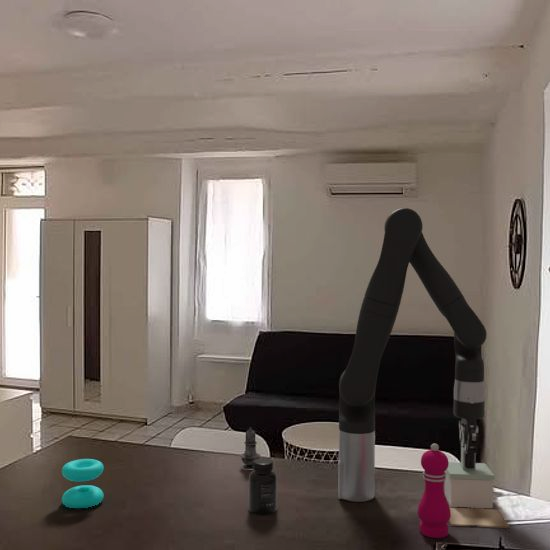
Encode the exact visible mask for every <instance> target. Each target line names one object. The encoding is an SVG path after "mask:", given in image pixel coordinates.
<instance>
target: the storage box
mask: <svg viewBox="0 0 550 550" xmlns="http://www.w3.org/2000/svg"><path fill="white" fill-rule="evenodd" d="M445 473H446V480H445V481H444V494H445V497H446V500H447V502H448V504H449V507H450V508H457V507H468V508H467V509H484V508H493V506H494V505H493V504H494V502H493V501H494V499H493V497H494V492H493V491H494V484H493V483H494V480H471V479H450V478H449V476H448V474H447V472H446V471H445ZM469 507H471V508H469ZM474 507H475V508H474ZM493 509H494V508H493Z"/></svg>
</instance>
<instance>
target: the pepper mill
mask: <svg viewBox="0 0 550 550" xmlns="http://www.w3.org/2000/svg"><path fill="white" fill-rule="evenodd" d="M439 449H440V446H439V444H437V443H432V444H431V445H430V449H428V450H426V451H424V452H423V454H422V455H421V458H420V465H421V467H422V469H423V471H422V474H423V475H422V478H423V479H424V491H423V494H422V497H421V499H420V501H419V503H418V506H417V516H418V518H419V520H420V522H419V533H421V535H423V536H426V537H428V538H431V539H432V538H434V539H442V538H445V537H447V536H449V524H447V523H448V522H449V520H450V518H451V512H450V508H451V506H450V504H449V502H448V500H447V498H446V496H445V480H446V473H445V471H446V470H447V468H448V462H449V458H448V456H447V455H446V454H445V452H443V451H441V450H439Z"/></svg>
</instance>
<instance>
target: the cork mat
mask: <svg viewBox="0 0 550 550" xmlns="http://www.w3.org/2000/svg"><path fill="white" fill-rule="evenodd" d="M450 512H451V518H450V520H449V521H448V522H449V524H450V526H452V527H470V526H477V527H476V528H496V529H497V528H499V529H500V528H501V529H503V528H504V529H510V527H511V526H510V525H509V523H508V521H507V520H506V518H505V517H504V516H503V514H502V513H501V512H500V510H499V509H494V508H493V509H484V508H457V507H450Z"/></svg>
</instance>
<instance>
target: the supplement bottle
mask: <svg viewBox="0 0 550 550" xmlns="http://www.w3.org/2000/svg"><path fill="white" fill-rule="evenodd" d="M273 470H274V461H273V460H272V459H270V458H261V457H260V458H259V459H256V460H254V461H253V471H251V472H250V474H249V475H248V509H249V512H250V513H252V514H254V515H257V516H258V515H259V516H267V515H268V514H269V515H271V514H274V513H276V512H277V508H278V475H277V473H276V472H275V470H274V471H273ZM269 515H268V516H269Z"/></svg>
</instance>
